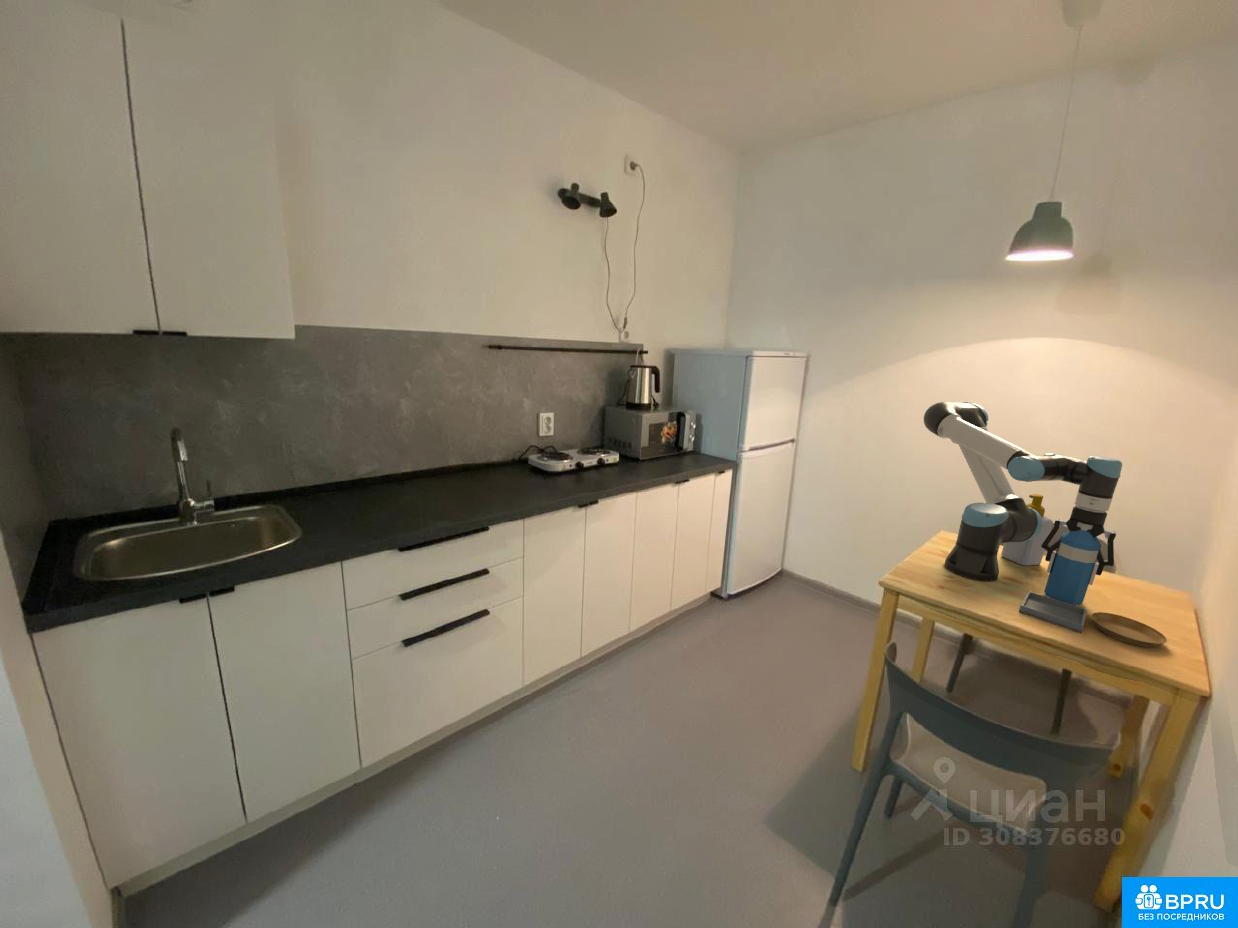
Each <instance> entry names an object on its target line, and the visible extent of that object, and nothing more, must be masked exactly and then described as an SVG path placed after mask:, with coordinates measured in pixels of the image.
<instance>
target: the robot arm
mask: <svg viewBox="0 0 1238 928" xmlns="http://www.w3.org/2000/svg"><path fill="white" fill-rule="evenodd" d="M988 421H989V415H988V413H987V411H986V409H985V408H984V407H983V406H982V405H980V404H977V403H974V402H967V401H965V402H949V401H948V402H947V401H945V402H944V401H941V402H937V403H934V404H932V405H931V406H929V407H928V408H927V409H926V411H925V412H924V415H923V424H924V426H925V428H926V429H927V430H928V431H929V432H930V433H932V434H933V435H936V436H937V437H939V438H941V439H949V440H951V442H952V443H953V444H956V445H958V446H959V449H960V451H961V453H962V455H963V457H964V459H965V462H966V464H967V465H968V468H969V470H970V472H971V473H972V474H971V475H972V476H973V478H974V481H975V482H976V485H977V486H978V488H979V490H980V493H981V496H982V497H983V499H984V501H985V502H973V503H970V504H969V503H968V505H966V506H965V508H964V510H963V513H962V514H961V521H960V524H959V529H958V533H957V537H956V538H957V539H956V542H955V545H954V547H952V549H951V551H950V552H949V553H948V555H947V556H946V558H945V561H944V567H945V568H946V569H948V570H949V571H951V572H952V573H953V574H956V575H958V576H961V577H964V578H967V579H969V580H970V579H971V580H976V581H981V582H994V581H997V580H998V578H999V575H1000V569H999V568H1000V567H999V563H998V562H999V561H998V553H999V549H1000V545H1001V544H1004V543H1007V542H1024V541H1028V540H1032V539H1034V538H1035V537H1037V536H1038V535H1039V533H1040V531H1041V529H1042V526H1043V522H1042V518H1041V516H1040V514H1039V513H1038V512H1037V511H1036V510H1034V509H1032V508H1030V507H1027V506H1026V505H1027V504H1026V502H1025V500H1024V498H1023V497H1021V496H1018V495H1016V494H1015V492H1014V490H1013V489H1012V487H1011V484H1010V483H1009V481H1008V478H1007V476H1006V474H1005V472H1004V470H1003V469H1005V470H1007V472H1008V474H1009V475H1010V477H1011V478H1012V479H1014V480H1016V481H1018V482H1029V483H1031V482H1044V481H1046V482H1048V481H1049V482H1050V481H1051V482H1054V481H1062V482H1066V483H1069V484H1074V485H1077V486H1079V487H1078V490H1077V494H1076V497H1075V501H1074V506H1073V507H1072V509H1071V510H1072V511H1071V513H1070V517H1069V519H1068V520H1061V518H1056V519H1055V521H1054V522H1053V523H1054V525H1053V527H1052V528H1051V530H1050V533H1049V535H1048V536H1047V538H1046V539H1045V541H1044V542H1043V544H1042V545H1041V547H1042V548H1044V549H1045V550H1046V551H1047V552H1046V555H1045V558H1044V559H1045V562H1048V565H1047V569H1046V573H1047V574H1049V573H1050V571H1051V567H1052V564H1053V561H1054V557H1055V554H1056V550H1057V548H1058V547H1059V546H1060V543H1061V539H1060V538H1059V539H1058V540H1057V541H1055V542H1054V543H1053V544H1052V545H1050V543H1051V541H1052V539H1053V538H1054V536H1055V535H1056V533H1057V532H1058V531H1059V529H1060V528H1063V527H1064V526H1066V527H1067V529H1068V530H1070V531H1071V532H1072V531H1079V530H1081V528H1080V527H1077V524H1078V522H1081V523H1086V524H1090V525H1093V527H1092V529H1089V530H1087V532H1089V533H1090V534H1091V535H1092V536H1093V538H1094V539H1095V537H1097V538H1098V537H1099V536H1101V535H1102V534H1104V536H1105V537H1104V538H1106V539H1107V540H1106V541H1107V542H1106V543H1107V559H1104V558H1105V557H1104V555H1103V553H1102V550H1101V548H1100V550H1099V551H1098V554H1097V561H1096V564H1095V566H1094V569H1093V572H1092V575H1091V578H1090V582H1089V585H1090V586H1093V585H1094V584H1093V583H1094V580H1095V578H1096V576H1101V575H1102V573H1103V572H1104V568H1105V567H1107V566H1108V567H1113V566H1114V565H1115V549H1114V546H1115V545H1114V540H1115V538H1116V536H1117V532H1116V531H1110V530H1107V529H1105V526H1104V525H1105V523H1106V519H1107V516H1108V512H1109V511H1110V507H1111V505H1112V502H1113V497H1114V494H1115V491H1116V488H1117V485H1118V482H1119V479H1120V478H1121V471H1122V467H1123V462H1122V461H1120V460H1119V459H1117V458H1112V457H1106V456H1100V455H1090V456H1088V458H1087V459H1086V460H1082V459H1079V458H1075V457H1071V456H1067V455H1063V454H1059V453H1057V454H1056V453H1050V452H1049V453H1045V454H1044V455H1040V456H1038V455H1035V454H1034V453H1031V452H1029V451H1027V450H1026V449H1023V448H1022V447H1019V446H1017V445H1015V444H1013V443H1012V442H1009V441H1007V440H1005V439H1003V438H1001V437H999V436H997V435H995V434H992V433H990V432H988V428H987V426H988V423H989V422H988ZM1002 468H1003V469H1002ZM1107 511H1108V512H1107ZM1069 533H1070V532H1069ZM1095 541H1096V539H1095ZM1089 585H1088V586H1089Z"/></svg>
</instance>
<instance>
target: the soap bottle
mask: <svg viewBox="0 0 1238 928" xmlns="http://www.w3.org/2000/svg"><path fill="white" fill-rule="evenodd" d="M1028 498H1031V499H1032V500H1031V503H1027V504H1026V506H1027V507H1030V508H1032V509H1034V510H1036V511H1037V512H1038V513H1039V514H1040V516H1041V518H1042V522H1043V526H1042V529H1041V531H1040V533H1039V535H1038V536H1037V537H1035V538H1034V539H1032V540H1028V541H1024V542H1007V543H1003V545H1002V546H1003V547H1002V550H1001V557H1003V558H1005V559H1007V560H1009V561H1012V562H1014V563H1015V564H1018V565H1020V566H1038V565H1040V564H1041V563H1042V560H1043V557H1044V553H1045V550H1046V549H1044V548H1042V547H1041V545H1042V544H1043V542H1044V541H1045V539H1046V538H1047V536H1048V535H1049V533H1050V532H1051V530H1052V528H1053V523H1054V520H1052V519H1051V518H1050V517H1049V516H1046V515H1045V512H1046V509H1045V507H1044V506H1043V505H1042V503H1043V499H1044V495H1042V494H1036V493H1034V494H1029V496H1028Z"/></svg>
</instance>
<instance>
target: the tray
mask: <svg viewBox="0 0 1238 928" xmlns="http://www.w3.org/2000/svg"><path fill="white" fill-rule="evenodd" d="M1022 600H1023V601H1022V602H1021V604H1020V606H1019V610H1018V612H1019V613H1021V614H1024V615H1027V616H1030V617H1032V618H1035V619H1038V620H1041V621H1044V622H1047V623H1049V624H1053V625H1055V626H1057V627H1061V628H1065V629H1068V630H1071V631H1072V632H1076V633H1079V634H1081V633H1082V631H1083V629H1084V625H1085V622H1086V617H1087V613H1088V609H1087V608H1084V607H1080V606H1079V605H1072V604H1069V603H1065V602H1062V601H1059V600H1056V599H1053V598H1050V597H1048V596H1046V595H1043V594H1040V593H1037V592H1034V591H1029V590H1028V591H1027V592H1026V594H1025V596H1024V599H1022Z"/></svg>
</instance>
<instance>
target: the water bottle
mask: <svg viewBox="0 0 1238 928" xmlns="http://www.w3.org/2000/svg"><path fill="white" fill-rule="evenodd" d="M1077 527H1080V528H1081V530H1079V531H1072V532H1071V531H1070V530H1069V529H1068V530H1066V531H1065V532H1063V533H1062V534H1060V538H1059V539H1061V543H1060V546H1059V547H1058V548H1057V549H1055V552H1056V554H1055V557H1054V561H1053V564H1052V567H1051V571H1050V573H1048V577H1047V581H1046V583H1045V586H1044V587H1045V588H1044V589H1043V590H1044V591H1043V592H1044V596H1046V597H1050V598H1053V599H1056V600H1059V601H1062V602H1065V603H1069V604H1072V605H1075V606H1082V605H1083V603H1084V600H1085V597H1086V594H1087V590H1088V587H1089V582H1090V578H1091V575H1092V572H1093V569H1094V566H1095V564H1096V562H1098V560H1097V554H1098V551H1099V550H1100V549H1101V548H1102V544H1101V543H1100V541H1099V539H1098V536H1097V537H1095V539H1096V541H1095V539H1094V538H1093V536H1092V535H1091V534H1090V533H1089V532H1087V530H1089V529H1092V527H1093V525H1090V524H1086V523H1081V522H1078V524H1077ZM1069 532H1070V533H1069Z"/></svg>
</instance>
